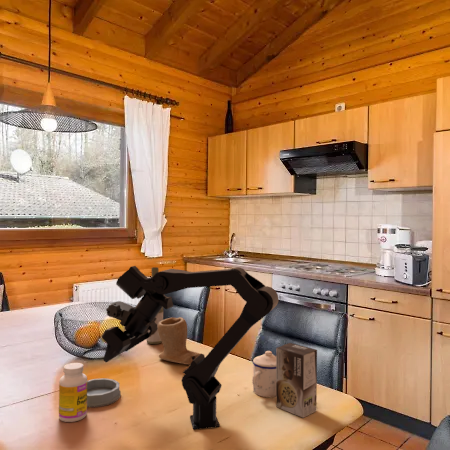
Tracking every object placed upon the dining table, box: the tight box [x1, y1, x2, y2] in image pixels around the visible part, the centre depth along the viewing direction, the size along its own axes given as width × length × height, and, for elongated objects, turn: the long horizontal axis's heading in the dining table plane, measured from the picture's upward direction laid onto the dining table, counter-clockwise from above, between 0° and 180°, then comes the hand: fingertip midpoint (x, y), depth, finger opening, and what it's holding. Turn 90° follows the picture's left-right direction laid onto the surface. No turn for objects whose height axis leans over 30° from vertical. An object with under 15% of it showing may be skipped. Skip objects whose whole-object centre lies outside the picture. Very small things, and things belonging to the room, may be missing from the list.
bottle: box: [145, 266, 164, 345], centre depth 167 cm, size 7×7×30 cm
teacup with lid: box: [251, 350, 276, 398], centre depth 121 cm, size 12×9×12 cm
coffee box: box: [275, 342, 318, 418], centre depth 111 cm, size 9×6×16 cm
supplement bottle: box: [58, 362, 88, 423], centre depth 105 cm, size 7×7×13 cm
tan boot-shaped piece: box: [158, 316, 206, 366], centre depth 147 cm, size 15×12×15 cm
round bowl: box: [87, 377, 122, 408], centre depth 117 cm, size 12×12×3 cm
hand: (115, 355), depth 111 cm, fingers open, 9 cm apart
